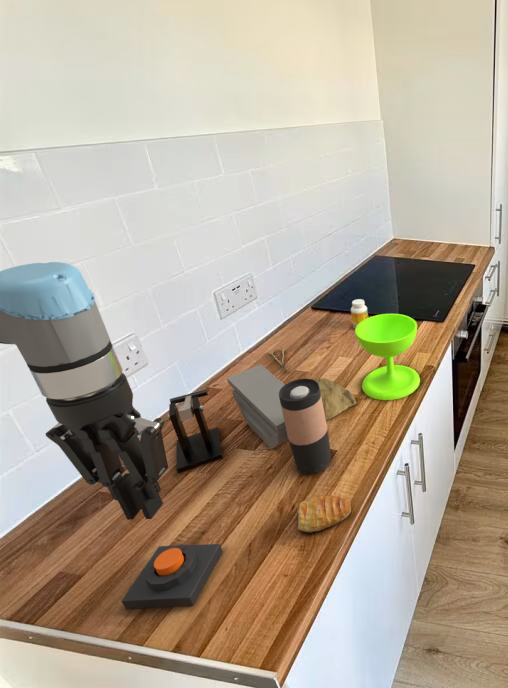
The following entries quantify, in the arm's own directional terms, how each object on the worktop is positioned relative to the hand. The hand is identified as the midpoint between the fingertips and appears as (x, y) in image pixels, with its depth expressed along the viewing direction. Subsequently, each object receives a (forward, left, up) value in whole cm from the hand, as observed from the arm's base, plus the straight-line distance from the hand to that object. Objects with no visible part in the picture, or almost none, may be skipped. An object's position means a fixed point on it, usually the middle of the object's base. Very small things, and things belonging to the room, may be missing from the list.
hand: (145, 511), depth 65 cm
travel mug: (+14, +25, -17) cm, 33 cm away
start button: (0, 0, -13) cm, 13 cm away
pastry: (+20, +11, -17) cm, 28 cm away
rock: (+14, +42, -17) cm, 47 cm away
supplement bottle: (+10, +87, -17) cm, 89 cm away
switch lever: (-14, +33, -8) cm, 37 cm away
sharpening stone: (+2, +36, -17) cm, 40 cm away
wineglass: (+26, +54, -17) cm, 62 cm away
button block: (0, 0, -16) cm, 16 cm away
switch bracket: (-12, +29, -16) cm, 35 cm away
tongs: (-8, +65, -17) cm, 68 cm away
